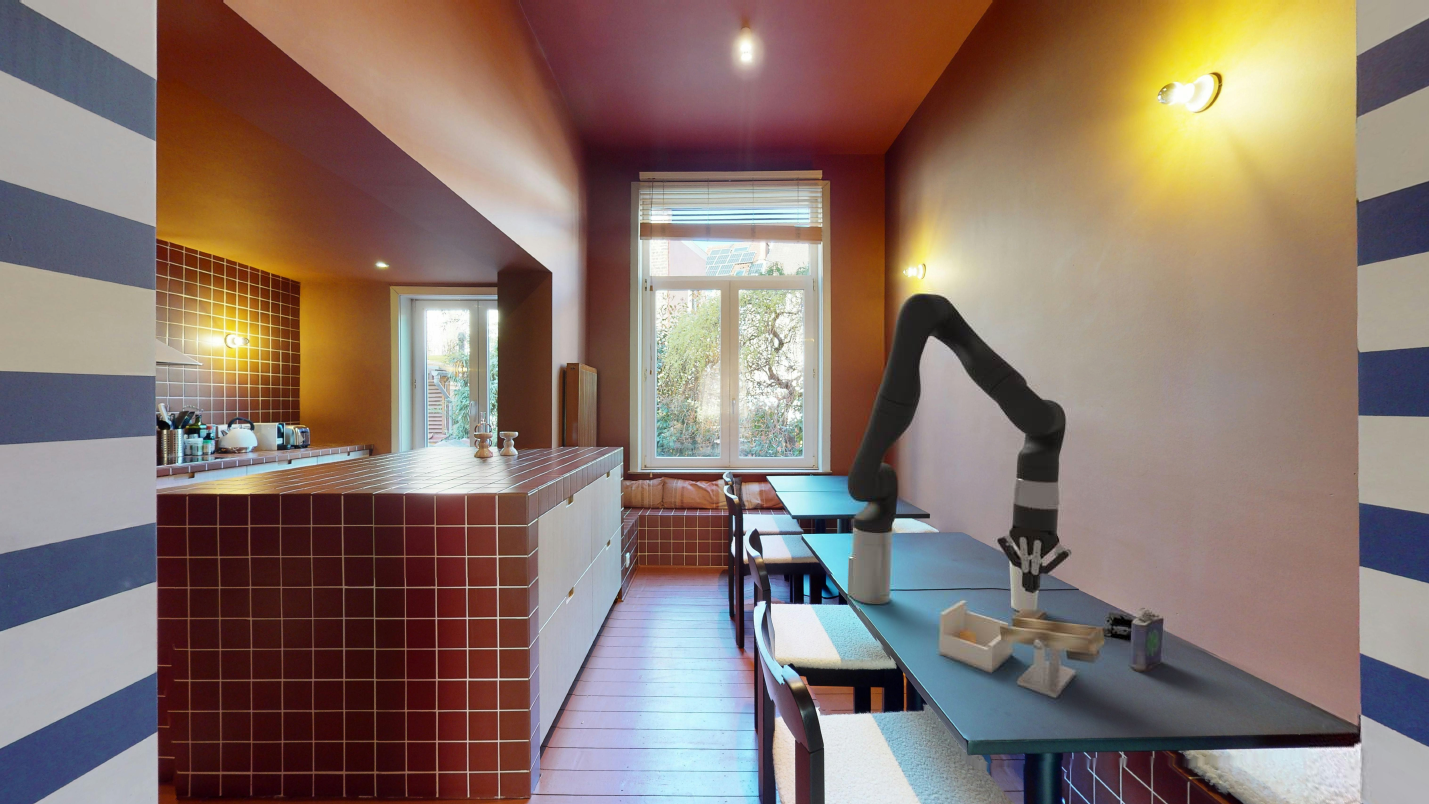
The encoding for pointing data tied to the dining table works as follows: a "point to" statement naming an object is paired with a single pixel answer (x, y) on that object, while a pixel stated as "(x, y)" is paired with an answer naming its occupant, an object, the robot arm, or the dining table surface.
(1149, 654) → the flask
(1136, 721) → the dining table surface
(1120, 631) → the black blocky device
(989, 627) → the white open bin
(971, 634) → the ball
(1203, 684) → the dining table surface
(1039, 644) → the stand
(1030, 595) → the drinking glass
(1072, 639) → the chute
